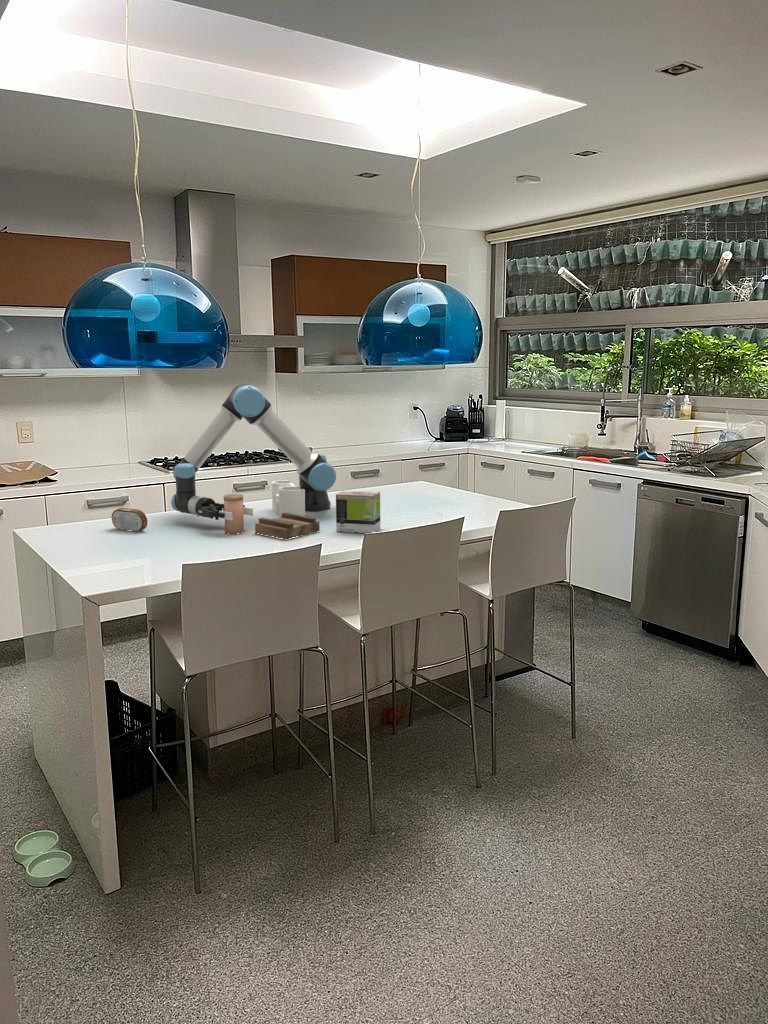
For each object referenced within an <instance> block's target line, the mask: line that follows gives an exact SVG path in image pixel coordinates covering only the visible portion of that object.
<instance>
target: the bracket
mask: <svg viewBox="0 0 768 1024" xmlns="http://www.w3.org/2000/svg"><path fill="white" fill-rule="evenodd" d="M271 502H272V503H271V505H272V507H271V509H272V510H271V511H272V512H275V511H276V513H279V514H278V515H279V517H278V518H281V517H282V513H290V514H295V515H301V516H306V511H305V489H300V486H299V485H296V484H294V482H291V481H290V480H274V481H271Z"/></svg>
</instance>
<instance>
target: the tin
mask: <svg viewBox="0 0 768 1024" xmlns="http://www.w3.org/2000/svg"><path fill="white" fill-rule="evenodd" d="M111 521H112V525H113V526H114V527H115V528H116V529H118V530H119V529H124V530H123V531H125V530H132V531H131V532H133V531H139V532H141V530H142V531H144V530H145V529H146V528H147V527H148V518H147V516H146V514H145V513H144V512H143V511H142V510H140V509H135V508H128V507H127V508H126V507H119V508H117V509H115V510H114V511H113V512H112V513H111Z"/></svg>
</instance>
